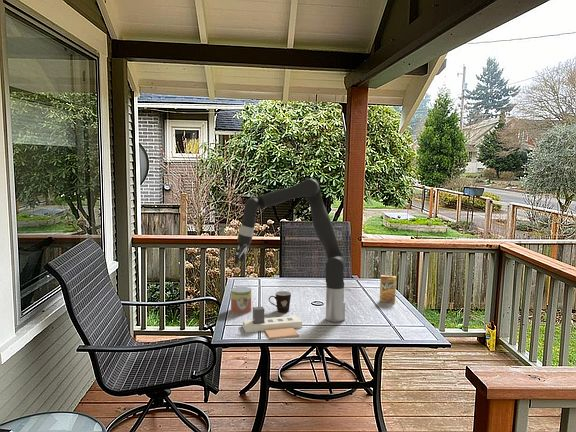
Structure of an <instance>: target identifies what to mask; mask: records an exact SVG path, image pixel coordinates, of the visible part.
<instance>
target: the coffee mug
mask: <svg viewBox="0 0 576 432" xmlns="http://www.w3.org/2000/svg"><path fill="white" fill-rule="evenodd" d="M274 294H275V296H274V295H270V296H269V297H268V302H269V303H270V304H271V305H273V306H275V307H276V311H277V313H281V314H286V313H289V312H290V307H291V297H292V292H291V291H287V290H286V291H285V290H281V291H276V292H274ZM270 298H274V299H275V301H276V304H275V303H274V302H272V301H271V300H270Z"/></svg>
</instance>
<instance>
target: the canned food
mask: <svg viewBox="0 0 576 432" xmlns="http://www.w3.org/2000/svg"><path fill="white" fill-rule="evenodd" d="M251 312H252V288H251V287H248V286H236V287H232V288H231V289H230V313H232V314H234V315H235V314H236V315H247V314H249V313H251Z"/></svg>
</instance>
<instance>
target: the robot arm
mask: <svg viewBox="0 0 576 432" xmlns="http://www.w3.org/2000/svg"><path fill="white" fill-rule="evenodd" d="M322 196H323V195H322V193H321V187H320V183H319V182H318V180H316V179H315V178H314V179H313V178H307V179H304V180H302V181H301V182H299V183H296V184H294V185H291V186H289V187H286V188H281V189H277V190H274V191H269V192H268V193H267V192H266V193H264V194H262V195H257V196H254V197H250V198H248V199H247V200H246V201H245V203H244V208H243V216H242V217H243V218H242V222H241V223H240V228H239V232H238V236H237V239H236V240H237V242H238V243H239V244H238V245H236V247H235V251H234V254H233V256H234V261H233V264H234V265H238V264H239V262H244V261H245V257H246V255H247V254H248V251H249V246H250V245H251V243H252V240H253V237H254V232H255V226H256V223H257V217H256V215H257V212H258V210H263V209H265V208H267V207H273V206H276V205H279V204H283V203H284V202H288V201H290V200H294V199H298V198H302V197H303V198H304V197H305V198H306V200H307V203H308V205H309V208H310V214H311V215H310V216H311V220H312V225H313V227H314V232H315V234H316V236H317V238H318V241H319V242H320V243H321V245H322V247H323V248H324V250H325V253H326V257H327V261H326V263H325V283H326V284H325V285H326V287H325V290H326V291H325V320H326V321H328V322H334V323H337V322H338V323H339V322H343V321H345V320H346V301H345V281H344V272H345V271H344V270H345V269H346V261H345V258H344V256H343V253H342V252H341V248H340V247H339V243H338V240H337V236H336V233H335V230H334V227H333V223H332V221H331V218H330V216H329V213H328V211H327V208H326V205H325V203H324V201H323V197H322Z"/></svg>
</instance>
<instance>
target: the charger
mask: <svg viewBox="0 0 576 432" xmlns="http://www.w3.org/2000/svg"><path fill="white" fill-rule="evenodd" d="M264 318H265V308H264V306H254V307H252V319H253V324H261V323H264Z"/></svg>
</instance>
